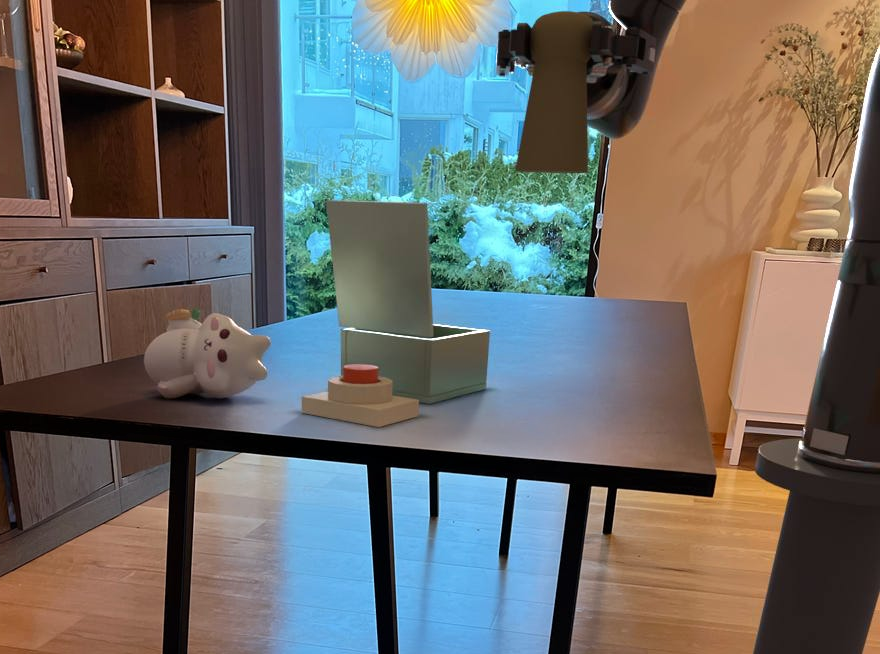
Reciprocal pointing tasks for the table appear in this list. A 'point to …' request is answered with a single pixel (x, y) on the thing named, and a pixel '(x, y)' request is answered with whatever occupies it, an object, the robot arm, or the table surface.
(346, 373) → the button
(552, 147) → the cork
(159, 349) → the cat figurine
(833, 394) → the robot arm
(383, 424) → the panel
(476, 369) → the open box
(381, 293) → the box lid
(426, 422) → the table surface
